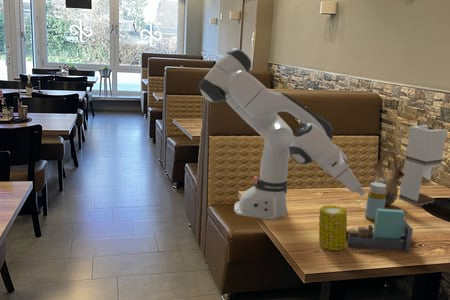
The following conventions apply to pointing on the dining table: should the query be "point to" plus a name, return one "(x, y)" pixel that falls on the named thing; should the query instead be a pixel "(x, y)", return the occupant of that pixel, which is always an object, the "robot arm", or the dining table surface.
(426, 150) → the white model tower
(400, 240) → the rack
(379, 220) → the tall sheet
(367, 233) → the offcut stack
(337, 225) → the food
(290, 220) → the dining table surface
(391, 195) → the ceramic vessel
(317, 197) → the dining table surface
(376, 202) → the bottle
